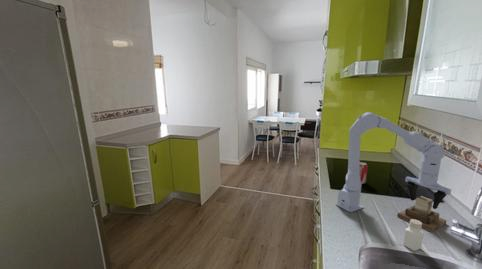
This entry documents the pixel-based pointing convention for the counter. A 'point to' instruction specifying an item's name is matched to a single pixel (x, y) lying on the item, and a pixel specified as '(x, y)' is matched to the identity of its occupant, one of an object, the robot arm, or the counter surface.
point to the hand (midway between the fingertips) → (423, 203)
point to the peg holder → (423, 219)
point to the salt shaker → (413, 235)
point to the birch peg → (423, 206)
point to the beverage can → (363, 172)
